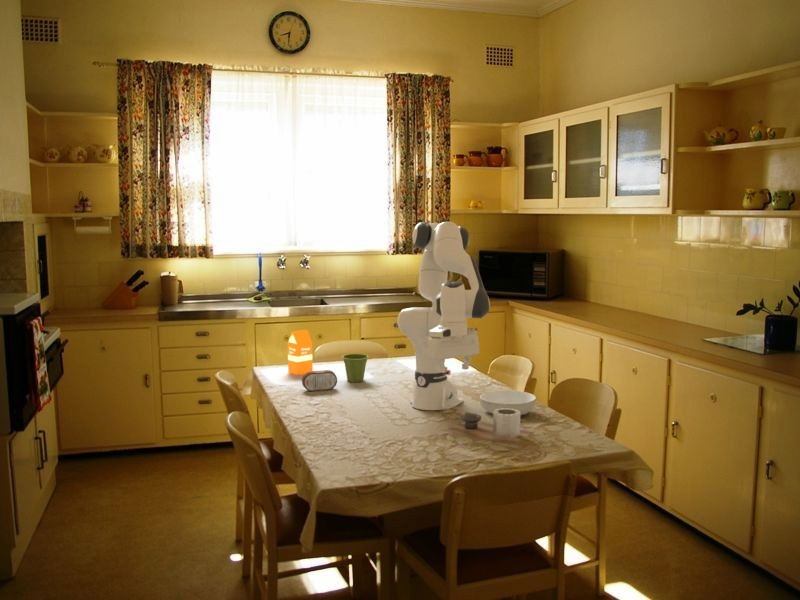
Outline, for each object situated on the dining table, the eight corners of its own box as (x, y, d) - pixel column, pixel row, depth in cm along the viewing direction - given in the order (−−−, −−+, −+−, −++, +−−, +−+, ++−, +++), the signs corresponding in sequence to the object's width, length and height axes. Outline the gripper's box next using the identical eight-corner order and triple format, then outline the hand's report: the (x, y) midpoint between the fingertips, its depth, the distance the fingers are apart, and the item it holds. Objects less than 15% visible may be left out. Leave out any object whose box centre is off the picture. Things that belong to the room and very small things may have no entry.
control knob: (468, 423, 266) (468, 409, 265) (484, 427, 262) (484, 412, 261) (457, 428, 261) (457, 413, 260) (474, 431, 257) (474, 416, 256)
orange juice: (288, 372, 357) (287, 330, 354) (303, 369, 363) (302, 328, 360) (297, 374, 351) (296, 332, 349) (313, 371, 357) (312, 330, 355)
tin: (336, 388, 326) (336, 368, 325) (338, 389, 323) (337, 370, 322) (302, 391, 321) (301, 371, 320) (303, 392, 318) (302, 373, 317)
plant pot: (344, 384, 332) (344, 359, 330) (340, 378, 343) (340, 354, 342) (371, 382, 334) (370, 358, 333) (366, 377, 346) (365, 352, 344)
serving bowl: (524, 405, 295) (524, 388, 294) (543, 420, 275) (544, 402, 274) (473, 408, 292) (473, 391, 291) (488, 423, 271) (488, 405, 270)
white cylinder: (501, 429, 259) (501, 406, 258) (524, 434, 254) (525, 410, 252) (487, 435, 252) (488, 412, 251) (511, 440, 246) (511, 417, 245)
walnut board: (469, 423, 271) (469, 419, 271) (533, 436, 256) (533, 432, 255) (443, 434, 259) (443, 430, 259) (510, 448, 243) (510, 444, 243)
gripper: (470, 326, 261) (471, 366, 262) (424, 331, 248) (425, 373, 249) (483, 327, 256) (484, 368, 256) (436, 333, 243) (437, 375, 244)
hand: (454, 370), depth 253 cm, fingers open, 8 cm apart
